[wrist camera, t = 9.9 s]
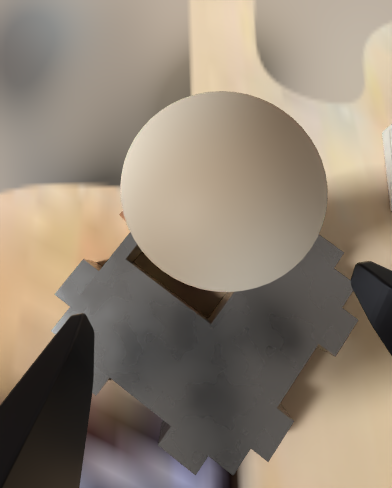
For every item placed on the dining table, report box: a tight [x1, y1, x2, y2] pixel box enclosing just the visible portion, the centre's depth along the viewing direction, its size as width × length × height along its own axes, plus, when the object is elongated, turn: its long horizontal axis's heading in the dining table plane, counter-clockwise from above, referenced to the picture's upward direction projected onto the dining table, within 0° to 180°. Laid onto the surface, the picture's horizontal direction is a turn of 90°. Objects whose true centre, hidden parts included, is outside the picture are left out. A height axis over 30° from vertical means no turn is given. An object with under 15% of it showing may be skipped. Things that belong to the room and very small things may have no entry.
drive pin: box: [120, 91, 328, 292], centre depth 13 cm, size 4×4×14 cm
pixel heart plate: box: [52, 211, 358, 475], centre depth 18 cm, size 15×15×2 cm
